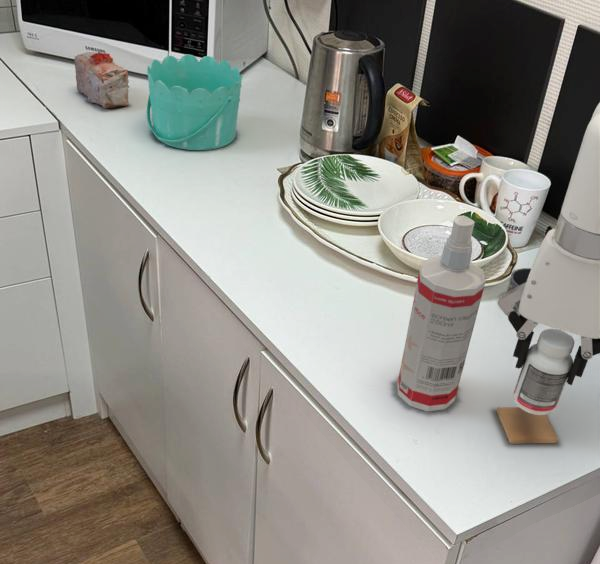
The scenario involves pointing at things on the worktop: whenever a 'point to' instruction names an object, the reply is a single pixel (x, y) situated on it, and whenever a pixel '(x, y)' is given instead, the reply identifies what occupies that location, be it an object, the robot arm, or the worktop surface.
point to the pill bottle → (544, 372)
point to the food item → (101, 79)
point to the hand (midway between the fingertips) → (545, 369)
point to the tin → (518, 279)
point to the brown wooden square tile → (526, 426)
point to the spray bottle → (441, 323)
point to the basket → (193, 102)
